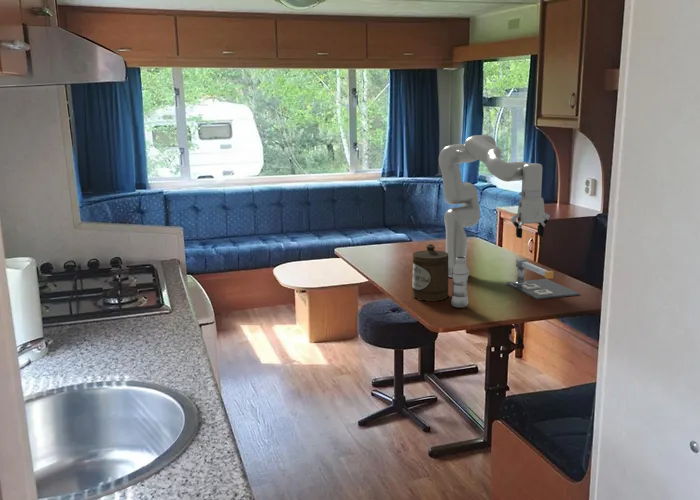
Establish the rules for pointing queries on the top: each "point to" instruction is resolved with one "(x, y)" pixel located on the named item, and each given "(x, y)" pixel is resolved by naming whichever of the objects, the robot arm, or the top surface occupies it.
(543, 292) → the label plate
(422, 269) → the wooden container
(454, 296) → the plastic bottle
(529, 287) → the label plate
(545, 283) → the board
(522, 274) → the grey metal rounded piece
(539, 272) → the bar
